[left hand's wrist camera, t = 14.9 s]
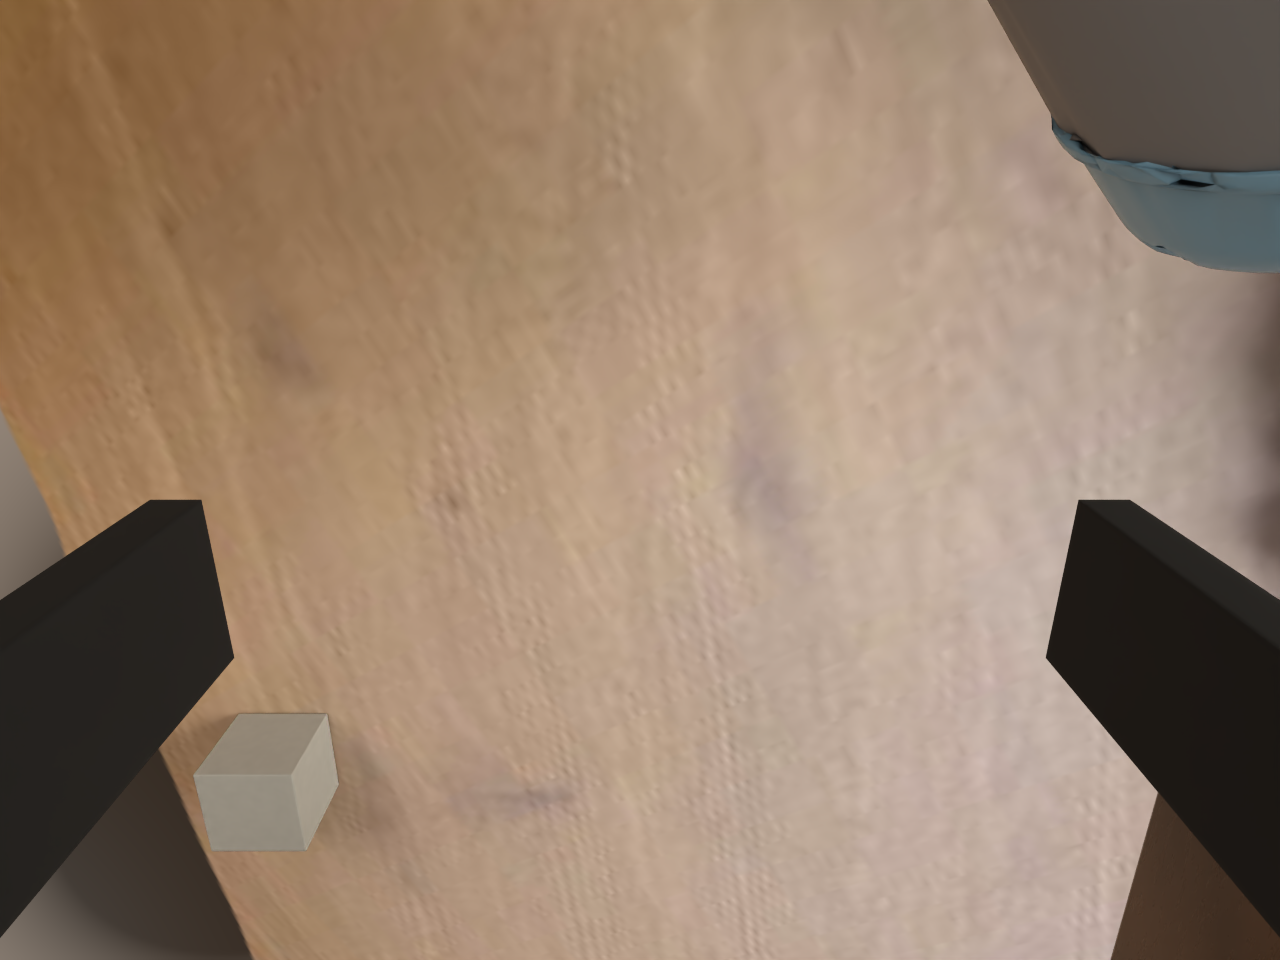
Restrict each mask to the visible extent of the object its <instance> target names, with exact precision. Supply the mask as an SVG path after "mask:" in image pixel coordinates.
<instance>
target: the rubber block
mask: <svg viewBox="0 0 1280 960" xmlns="http://www.w3.org/2000/svg"><path fill="white" fill-rule="evenodd" d="M193 777H194V781H195V785H196V789H197V793H198V797H199V801H200V805H201V810H202V814H203V818H204V822H205V826H206V830H207V834H208V838H209V842H210V846H211V850H212V851H306V850H307V848H308V846H309V844H310V842H311V840H312V838H313V836H314V834H315V832H316V830H317V828H318V826H319V824H320V822H321V820H322V818H323V816H324V814H325V812H326V810H327V808H328V806H329V804H330V802H331V800H332V797H333V795H334V793H335V791H336V789H337V787H338V785H339V782H338V776H337V770H336V764H335V758H334V752H333V746H332V740H331V734H330V728H329V722H328V715H327V714H238V715H237V717H236V718H235V719H234V721H233V722H232V723H231V725H230V726H229V728H228V729H227V730H226V732H225V733H224V734H223V736H222V737H221V738H220V740H219V741H218V742H217V744H216V745H215V746H214V748H213V749H212V750H211V752H210V753H209V755H208V756H207V757H206V759H205V760H204V761H203V763H202V764H201V765H200V767H199V768H198V769H197V771H196V772H195V773H194V775H193Z"/></svg>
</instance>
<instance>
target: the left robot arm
mask: <svg viewBox="0 0 1280 960" xmlns="http://www.w3.org/2000/svg"><path fill="white" fill-rule="evenodd" d="M988 2H989V4H990V5H991V7H992V9H993V11H994V12H995V14H996V16H997V18H998V20H999V21H1000V23H1001V25H1002V27H1003V29H1004V30H1005V32H1006V34H1007V36H1008V38H1009V39H1010V41H1011V43H1012V45H1013V47H1014V48H1015V50H1016V52H1017V54H1018V56H1019V57H1020V59H1021V61H1022V63H1023V64H1024V66H1025V68H1026V70H1027V72H1028V73H1029V75H1030V77H1031V79H1032V81H1033V82H1034V84H1035V86H1036V88H1037V90H1038V91H1039V93H1040V95H1041V97H1042V99H1043V100H1044V102H1045V104H1046V106H1047V108H1048V109H1049V111H1050V113H1051V117H1052V130H1053V132H1054V134H1055V136H1056V138H1057V140H1058V141H1059V143H1060V144H1061V146H1062V147H1063V148H1064V149H1065V150H1066V151H1067V152H1068V153H1069V154H1070V155H1071V156H1072V157H1073V158H1075V159H1076V160H1078V161H1080V162H1082V163H1084V165H1085V166H1086V168H1087V169H1088V171H1089V172H1090V174H1091V175H1092V177H1093V178H1094V180H1095V182H1096V183H1097V185H1098V186H1099V188H1100V189H1101V191H1102V192H1103V194H1104V195H1105V197H1106V198H1107V200H1108V202H1109V203H1110V205H1111V206H1112V208H1113V209H1114V211H1115V212H1116V214H1117V215H1118V217H1119V218H1120V220H1121V221H1122V223H1123V224H1124V225H1125V226H1126V228H1127V229H1128V230H1129V231H1130V232H1131V233H1132V234H1133V235H1135V236H1136V237H1137V238H1138V239H1139V240H1140V241H1141V242H1143V243H1144V244H1146V245H1147V246H1149V247H1150V248H1152V249H1154V250H1156V251H1158V252H1162V253H1165V254H1169V255H1173V256H1177V257H1181V258H1183V259H1184V260H1189V261H1190V262H1192V263H1194V264H1196V265H1198V266H1202V267H1207V268H1211V269H1218V270H1226V271H1237V272H1252V273H1280V0H988ZM233 659H234V654H233V649H232V645H231V640H230V635H229V630H228V625H227V621H226V616H225V611H224V606H223V601H222V597H221V592H220V587H219V582H218V577H217V573H216V568H215V563H214V558H213V553H212V549H211V544H210V539H209V534H208V529H207V525H206V520H205V515H204V510H203V505H202V501H201V500H149V501H148V502H146V503H145V504H143V505H142V506H140V507H139V508H137V509H136V510H134V511H133V512H131V513H130V514H128V515H127V516H125V517H124V518H122V519H121V520H119V521H118V522H116V523H115V524H113V525H112V526H110V527H109V528H107V529H106V530H104V531H103V532H101V533H100V534H98V535H97V536H95V537H94V538H92V539H91V540H89V541H88V542H86V543H85V544H83V545H82V546H80V547H79V548H77V549H76V550H74V551H73V552H72V553H70V554H69V555H67V556H66V557H64V558H63V559H61V560H60V561H58V562H57V563H55V564H54V565H52V566H51V567H49V568H48V569H46V570H45V571H43V572H42V573H40V574H39V575H37V576H36V577H34V578H33V579H31V580H30V581H28V582H27V583H25V584H24V585H22V586H21V587H19V588H18V589H16V590H15V591H13V592H12V593H10V594H9V595H7V596H6V597H4V598H3V599H1V600H0V937H1V936H2V935H3V934H4V933H5V931H6V930H7V929H8V928H9V927H10V925H11V924H12V923H13V922H14V921H15V919H16V918H17V917H18V916H19V915H20V914H21V912H22V911H23V910H24V909H25V908H26V906H27V905H28V904H29V903H30V902H31V900H32V899H33V898H34V897H35V896H36V894H37V893H38V892H39V891H40V890H41V888H42V887H43V886H44V885H45V884H46V882H47V881H48V880H49V879H50V878H51V876H52V875H53V874H54V873H55V872H56V870H57V869H58V868H59V867H60V866H61V864H62V863H63V862H64V861H65V860H66V858H67V857H68V856H69V855H70V854H71V852H72V851H73V850H74V849H75V848H76V846H77V845H78V844H79V843H80V842H81V841H82V839H83V838H84V837H85V836H86V834H87V833H88V832H89V831H90V830H91V829H92V827H93V826H94V825H95V824H96V823H97V821H98V820H99V819H100V818H101V817H102V815H103V814H104V813H105V812H106V811H107V809H108V808H109V807H110V806H111V805H112V803H113V802H114V801H115V800H116V799H117V797H118V796H119V795H120V794H121V793H122V791H123V790H124V789H125V788H126V787H127V785H128V784H129V783H130V782H131V781H132V779H133V778H134V777H135V776H136V775H137V773H138V772H139V771H140V770H141V769H142V767H143V766H144V765H145V764H146V763H147V761H148V760H149V759H150V758H151V757H152V755H153V754H154V753H155V752H156V751H157V750H158V748H159V747H160V746H161V745H162V744H163V742H164V741H165V740H166V739H167V738H168V736H169V735H170V734H171V733H172V732H173V730H174V729H175V728H176V727H177V726H178V724H179V723H180V722H181V721H182V720H183V718H184V717H185V716H186V715H187V714H188V712H189V711H190V710H191V709H192V708H193V706H194V705H195V704H196V703H197V702H198V700H199V699H200V698H201V697H202V696H203V694H204V693H205V692H206V691H207V690H208V688H209V687H210V686H211V685H212V684H213V682H214V681H215V680H216V679H217V678H218V677H219V675H220V674H221V673H222V672H223V671H224V669H225V668H226V667H227V666H228V665H229V663H230V662H231V661H232V660H233ZM1046 659H1047V660H1048V661H1049V662H1050V663H1051V665H1052V666H1053V667H1054V668H1055V669H1056V671H1057V672H1058V673H1059V674H1060V675H1061V677H1062V678H1063V679H1064V680H1065V681H1066V682H1067V684H1068V685H1069V686H1070V687H1071V688H1072V690H1073V691H1074V692H1075V693H1076V694H1077V696H1078V697H1079V698H1080V699H1081V700H1082V702H1083V703H1084V704H1085V705H1086V706H1087V708H1088V709H1089V710H1090V711H1091V712H1092V714H1093V715H1094V716H1095V717H1096V718H1097V720H1098V721H1099V722H1100V723H1101V724H1102V726H1103V727H1104V728H1105V729H1106V730H1107V732H1108V733H1109V734H1110V735H1111V736H1112V738H1113V739H1114V740H1115V741H1116V742H1117V744H1118V745H1119V746H1120V747H1121V748H1122V750H1123V751H1124V752H1125V753H1126V754H1127V756H1128V757H1129V758H1130V759H1131V760H1132V761H1133V763H1134V764H1135V765H1136V766H1137V767H1138V769H1139V770H1140V771H1141V772H1142V773H1143V775H1144V776H1145V777H1146V778H1147V779H1148V781H1149V782H1150V783H1151V784H1152V785H1153V787H1154V788H1155V789H1156V790H1157V791H1158V793H1159V794H1160V795H1161V796H1162V797H1163V799H1164V800H1165V801H1166V802H1167V803H1168V805H1169V806H1170V807H1171V808H1172V809H1173V811H1174V812H1175V813H1176V814H1177V815H1178V817H1179V818H1180V819H1181V820H1182V821H1183V823H1184V824H1185V825H1186V826H1187V827H1188V829H1189V830H1190V831H1191V832H1192V833H1193V835H1194V836H1195V837H1196V838H1197V839H1198V841H1199V842H1200V843H1201V844H1202V845H1203V846H1204V848H1205V849H1206V850H1207V851H1208V852H1209V854H1210V855H1211V856H1212V857H1213V858H1214V860H1215V861H1216V862H1217V863H1218V864H1219V866H1220V867H1221V868H1222V869H1223V870H1224V872H1225V873H1226V874H1227V875H1228V876H1229V878H1230V879H1231V880H1232V881H1233V882H1234V884H1235V885H1236V886H1237V887H1238V888H1239V890H1240V891H1241V892H1242V893H1243V894H1244V896H1245V897H1246V898H1247V899H1248V900H1249V902H1250V903H1251V904H1252V905H1253V906H1254V908H1255V909H1256V910H1257V911H1258V912H1259V914H1260V915H1261V916H1262V917H1263V918H1264V920H1265V921H1266V922H1267V923H1268V924H1269V926H1270V927H1271V928H1272V929H1273V930H1274V931H1275V933H1276V934H1277V935H1278V936H1279V937H1280V600H1279V599H1277V598H1276V597H1274V596H1273V595H1271V594H1270V593H1268V592H1267V591H1265V590H1264V589H1262V588H1261V587H1259V586H1258V585H1256V584H1255V583H1253V582H1252V581H1250V580H1249V579H1247V578H1246V577H1244V576H1243V575H1241V574H1240V573H1238V572H1237V571H1235V570H1234V569H1232V568H1231V567H1229V566H1228V565H1226V564H1225V563H1223V562H1222V561H1220V560H1219V559H1217V558H1216V557H1214V556H1213V555H1211V554H1210V553H1208V552H1207V551H1206V550H1204V549H1203V548H1201V547H1200V546H1198V545H1197V544H1195V543H1194V542H1192V541H1191V540H1189V539H1188V538H1186V537H1185V536H1183V535H1182V534H1180V533H1179V532H1177V531H1176V530H1174V529H1173V528H1171V527H1170V526H1168V525H1167V524H1165V523H1164V522H1162V521H1161V520H1159V519H1158V518H1156V517H1155V516H1153V515H1152V514H1150V513H1149V512H1147V511H1146V510H1144V509H1143V508H1141V507H1140V506H1138V505H1137V504H1135V503H1134V502H1132V501H1131V500H1079V501H1078V505H1077V510H1076V515H1075V520H1074V525H1073V529H1072V534H1071V539H1070V544H1069V549H1068V553H1067V558H1066V563H1065V568H1064V573H1063V577H1062V582H1061V587H1060V592H1059V597H1058V601H1057V606H1056V611H1055V616H1054V621H1053V625H1052V630H1051V635H1050V640H1049V645H1048V649H1047V654H1046Z"/></svg>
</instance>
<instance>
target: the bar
mask: <svg viewBox="0 0 1280 960" xmlns="http://www.w3.org/2000/svg"><path fill="white" fill-rule="evenodd" d="M1111 960H1280V937H1279V936H1278V935H1277V934H1276V933H1275V931H1274V930H1273V929H1272V928H1271V927H1270V926H1269V924H1268V923H1267V922H1266V921H1265V920H1264V918H1263V917H1262V916H1261V915H1260V914H1259V912H1258V911H1257V910H1256V909H1255V908H1254V906H1253V905H1252V904H1251V903H1250V902H1249V900H1248V899H1247V898H1246V897H1245V896H1244V894H1243V893H1242V892H1241V891H1240V890H1239V888H1238V887H1237V886H1236V885H1235V884H1234V882H1233V881H1232V880H1231V879H1230V878H1229V876H1228V875H1227V874H1226V873H1225V872H1224V870H1223V869H1222V868H1221V867H1220V866H1219V864H1218V863H1217V862H1216V861H1215V860H1214V858H1213V857H1212V856H1211V855H1210V854H1209V852H1208V851H1207V850H1206V849H1205V848H1204V846H1203V845H1202V844H1201V843H1200V842H1199V841H1198V839H1197V838H1196V837H1195V836H1194V835H1193V833H1192V832H1191V831H1190V830H1189V829H1188V827H1187V826H1186V825H1185V824H1184V823H1183V821H1182V820H1181V819H1180V818H1179V817H1178V815H1177V814H1176V813H1175V812H1174V811H1173V809H1172V808H1171V807H1170V806H1169V805H1168V803H1167V802H1166V801H1165V800H1164V799H1163V797H1162V796H1161V795H1160V794H1159V793H1158V794H1157V797H1156V801H1155V804H1154V808H1153V812H1152V815H1151V819H1150V822H1149V826H1148V829H1147V833H1146V836H1145V840H1144V843H1143V847H1142V850H1141V854H1140V858H1139V861H1138V865H1137V868H1136V872H1135V875H1134V879H1133V882H1132V886H1131V889H1130V893H1129V896H1128V900H1127V903H1126V907H1125V911H1124V914H1123V918H1122V921H1121V925H1120V928H1119V932H1118V935H1117V939H1116V942H1115V946H1114V949H1113V953H1112V957H1111Z"/></svg>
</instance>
